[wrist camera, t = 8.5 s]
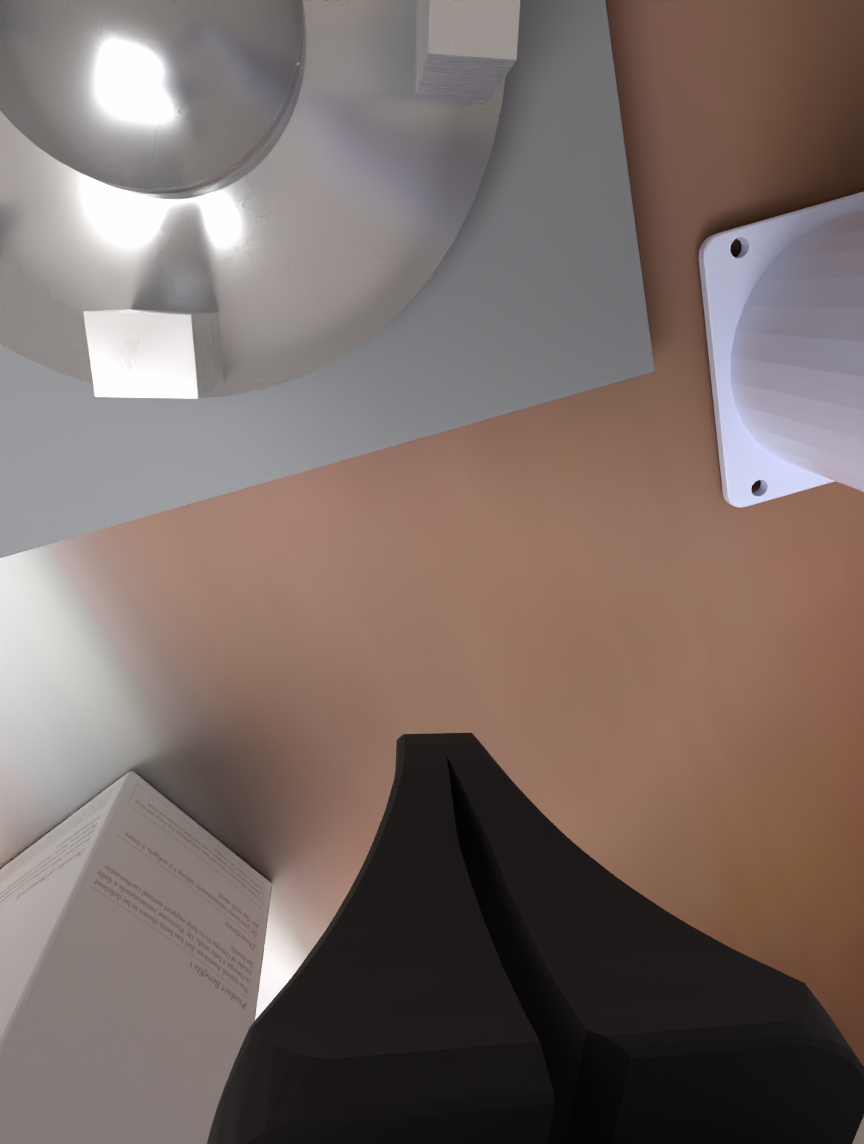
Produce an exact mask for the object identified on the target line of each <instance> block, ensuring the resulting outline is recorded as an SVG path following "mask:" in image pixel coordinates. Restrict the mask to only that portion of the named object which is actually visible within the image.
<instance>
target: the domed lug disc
mask: <svg viewBox="0 0 864 1144" xmlns="http://www.w3.org/2000/svg"><path fill="white" fill-rule="evenodd" d="M519 14H520V0H0V344H1V345H3V346H5V347H6V348H8V349H10V350H11V351H13V352H15V353H17V354H19V355H21V356H24V357H26V358H28V359H30V360H32V361H34V362H36V363H38V364H41V365H43V366H45V367H47V368H49V369H51V370H53V371H55V372H58V373H61V374H64V375H67V376H70V377H73V378H76V379H79V380H82V381H85V382H88V383H91V384H93V385H94V393H95V397H130V398H182V399H199V398H207V397H225V396H231V395H236V394H242V393H248V392H253V391H259V390H264V389H267V388H270V387H273V386H276V385H279V384H282V383H285V382H289V381H292V380H295V379H298V378H301V377H303V376H305V375H307V374H309V373H311V372H314V371H316V370H318V369H320V368H322V367H324V366H326V365H328V364H330V363H332V362H334V361H336V360H338V359H340V358H341V357H343V356H344V355H346V354H347V353H349V352H350V351H351V350H353V349H354V348H356V347H357V346H359V345H360V344H362V343H363V342H365V341H366V340H368V339H369V338H371V337H372V336H373V335H374V334H376V333H377V332H378V331H379V330H380V329H381V328H382V327H383V326H385V325H386V324H387V323H388V322H389V321H390V320H391V319H392V318H393V317H395V316H396V315H397V314H398V313H399V312H400V311H401V310H402V309H403V308H404V307H405V306H406V305H407V304H408V303H409V301H410V300H411V299H412V298H413V297H414V296H415V294H416V293H417V292H418V291H419V290H420V289H421V287H422V286H423V285H424V284H425V283H426V282H427V280H428V279H429V278H430V277H431V275H432V274H433V272H434V271H435V269H436V268H437V266H438V265H439V263H440V262H441V260H442V259H443V257H444V256H445V254H446V253H447V251H448V249H449V248H450V246H451V245H452V243H453V242H454V240H455V238H456V236H457V234H458V232H459V230H460V228H461V226H462V224H463V222H464V220H465V218H466V216H467V214H468V212H469V210H470V208H471V206H472V204H473V202H474V200H475V197H476V195H477V192H478V189H479V186H480V183H481V180H482V178H483V175H484V172H485V169H486V166H487V163H488V160H489V158H490V155H491V151H492V147H493V143H494V138H495V134H496V129H497V125H498V121H499V116H500V112H501V107H502V103H503V94H504V85H505V76H506V75H507V73H508V72H509V70H510V69H511V67H512V66H513V64H514V63H515V61H516V60H517V45H518V29H519Z"/></svg>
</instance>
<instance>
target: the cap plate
mask: <svg viewBox="0 0 864 1144" xmlns="http://www.w3.org/2000/svg"><path fill="white" fill-rule="evenodd" d="M651 372H655V369H654V361H653V354H652V346H651V339H650V331H649V324H648V316H647V309H646V301H645V294H644V286H643V279H642V271H641V264H640V257H639V249H638V242H637V234H636V227H635V219H634V212H633V204H632V197H631V189H630V182H629V174H628V167H627V159H626V152H625V144H624V137H623V129H622V122H621V114H620V107H619V99H618V92H617V84H616V77H615V69H614V62H613V54H612V47H611V39H610V32H609V24H608V17H607V10H606V2H605V0H520V14H519V29H518V45H517V60H516V61H515V63H514V64H513V66H512V67H511V69H510V70H509V72H508V73H507V75H506V76H505V85H504V94H503V103H502V107H501V112H500V116H499V121H498V125H497V129H496V134H495V138H494V143H493V147H492V151H491V155H490V158H489V160H488V163H487V166H486V169H485V172H484V175H483V178H482V180H481V183H480V186H479V189H478V192H477V195H476V197H475V200H474V202H473V204H472V206H471V208H470V210H469V212H468V214H467V216H466V218H465V220H464V222H463V224H462V226H461V228H460V230H459V232H458V234H457V236H456V238H455V240H454V242H453V243H452V245H451V246H450V248H449V249H448V251H447V253H446V254H445V256H444V257H443V259H442V260H441V262H440V263H439V265H438V266H437V268H436V269H435V271H434V272H433V274H432V275H431V277H430V278H429V279H428V280H427V282H426V283H425V284H424V285H423V286H422V287H421V289H420V290H419V291H418V292H417V293H416V294H415V296H414V297H413V298H412V299H411V300H410V301H409V303H408V304H407V305H406V306H405V307H404V308H403V309H402V310H401V311H400V312H399V313H398V314H397V315H396V316H395V317H393V318H392V319H391V320H390V321H389V322H388V323H387V324H386V325H385V326H383V327H382V328H381V329H380V330H379V331H378V332H377V333H376V334H374V335H373V336H372V337H371V338H369V339H368V340H366V341H365V342H363V343H362V344H360V345H359V346H357V347H356V348H354V349H353V350H351V351H350V352H349V353H347V354H346V355H344V356H343V357H341V358H340V359H338V360H336V361H334V362H332V363H330V364H328V365H326V366H324V367H322V368H320V369H318V370H316V371H314V372H311V373H309V374H307V375H305V376H303V377H301V378H298V379H295V380H292V381H289V382H285V383H282V384H279V385H276V386H273V387H270V388H267V389H264V390H259V391H253V392H248V393H242V394H236V395H231V396H225V397H207V398H199V399H182V398H130V397H95V393H94V385H93V384H91V383H88V382H85V381H82V380H79V379H76V378H73V377H70V376H67V375H64V374H61V373H58V372H55V371H53V370H51V369H49V368H47V367H45V366H43V365H41V364H38V363H36V362H34V361H32V360H30V359H28V358H26V357H24V356H21V355H19V354H17V353H15V352H13V351H11V350H10V349H8V348H6V347H5V346H3V345H1V344H0V558H2V557H5V556H9V555H12V554H16V553H19V552H23V551H26V550H30V549H33V548H37V547H40V546H44V545H47V544H51V543H54V542H58V541H61V540H65V539H68V538H72V537H75V536H79V535H82V534H86V533H89V532H93V531H97V530H100V529H104V528H107V527H111V526H114V525H118V524H121V523H125V522H128V521H132V520H135V519H139V518H142V517H146V516H149V515H153V514H156V513H160V512H163V511H167V510H170V509H174V508H177V507H181V506H184V505H188V504H191V503H195V502H198V501H202V500H205V499H209V498H212V497H216V496H219V495H223V494H226V493H230V492H233V491H237V490H241V489H244V488H248V487H251V486H255V485H258V484H262V483H265V482H269V481H272V480H276V479H279V478H283V477H286V476H290V475H293V474H297V473H300V472H304V471H307V470H311V469H314V468H318V467H321V466H325V465H328V464H332V463H335V462H339V461H342V460H346V459H349V458H353V457H356V456H360V455H363V454H367V453H370V452H374V451H378V450H381V449H385V448H388V447H392V446H395V445H399V444H402V443H406V442H409V441H413V440H416V439H420V438H423V437H427V436H430V435H434V434H437V433H441V432H444V431H448V430H451V429H455V428H458V427H462V426H465V425H469V424H472V423H476V422H479V421H483V420H486V419H490V418H493V417H497V416H500V415H504V414H507V413H511V412H514V411H518V410H522V409H525V408H529V407H532V406H536V405H539V404H543V403H546V402H550V401H553V400H557V399H560V398H564V397H567V396H571V395H574V394H578V393H581V392H585V391H588V390H592V389H595V388H599V387H602V386H606V385H609V384H613V383H616V382H620V381H623V380H627V379H630V378H634V377H637V376H641V375H644V374H648V373H651Z"/></svg>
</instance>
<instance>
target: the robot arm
mask: <svg viewBox="0 0 864 1144" xmlns="http://www.w3.org/2000/svg"><path fill="white" fill-rule="evenodd" d="M736 238H737V239H738V240H739V241H740V242H741V245H742V248H741V252H740V254H739V255H738V256H737V257H736V258H735V257H734V256H732V254H731V251H730V248H731V244H732V242H733V241H734V240H735V239H736ZM699 267H700V277H701V286H702V296H703V306H704V315H705V325H706V335H707V344H708V354H709V364H710V373H711V383H712V393H713V402H714V412H715V422H716V431H717V441H718V451H719V460H720V470H721V479H722V489H723V496H724V499H725V500H726V501H727V502H728V503H729V504H731V505H733V506H735V507H738V508H739V507H746V506H750V505H753V504H757V503H760V502H764V501H767V500H771V499H774V498H778V497H782V496H785V495H789V494H792V493H796V492H799V491H803V490H806V489H810V488H813V487H817V486H820V485H824V484H827V483H831V482H834V481H836V482H839V483H842V484H844V485H847V486H850V487H852V488H855V489H858V490H860V491H863V492H864V192H860V193H856V194H853V195H849V196H846V197H842V198H839V199H835V200H832V201H828V202H825V203H821V204H818V205H814V206H811V207H807V208H804V209H800V210H797V211H793V212H790V213H786V214H783V215H779V216H776V217H772V218H769V219H765V220H762V221H758V222H755V223H751V224H748V225H744V226H741V227H737V228H734V229H730V230H727V231H723V232H720V233H716V234H713V235H711V236H709V237H708V238H707V239H706V240H705V241H704V242H703V243H702V245H701V248H700V250H699ZM758 480H760V481H761V485H760V488H759V489H758V491H756V492H754V493H752V491H751V489H752V485H753V484H754V483H755V482H756V481H758ZM863 1114H864V1067H863V1065H862V1064H861V1062H860V1061H859V1059H858V1058H857V1057H856V1055H855V1054H854V1052H853V1051H852V1049H851V1048H850V1046H849V1044H848V1043H847V1041H846V1040H845V1038H844V1037H843V1035H842V1034H841V1032H840V1031H839V1029H838V1028H837V1026H836V1025H835V1023H834V1022H833V1020H832V1019H831V1017H830V1016H829V1014H828V1013H827V1012H826V1010H825V1009H824V1008H823V1006H822V1005H821V1004H820V1003H819V1001H818V1000H817V999H816V997H815V996H814V995H813V993H812V992H811V991H810V990H809V988H808V987H807V986H806V984H805V983H803V982H801V981H799V980H797V979H794V978H792V977H790V976H788V975H786V974H784V973H782V972H780V971H778V970H776V969H773V968H771V967H769V966H767V965H765V964H763V963H761V962H759V961H757V960H754V959H752V958H750V957H748V956H746V955H744V954H742V953H740V952H738V951H736V950H734V949H732V948H730V947H728V946H726V945H724V944H722V943H721V942H719V941H717V940H715V939H713V938H712V937H710V936H708V935H706V934H704V933H703V932H701V931H699V930H697V929H695V928H694V927H692V926H690V925H688V924H687V923H685V922H683V921H682V920H680V919H678V918H677V917H675V916H673V915H672V914H670V913H669V912H667V911H665V910H664V909H662V908H661V907H659V906H658V905H656V904H655V903H653V902H652V901H650V900H649V899H647V898H646V897H644V896H643V895H641V894H640V893H638V892H637V891H635V890H634V889H632V888H631V887H629V886H628V885H627V884H625V883H624V882H622V881H621V880H620V879H618V878H617V877H615V876H614V875H613V874H611V873H610V872H609V871H608V870H606V869H605V868H604V867H603V866H601V865H600V864H599V863H598V862H596V861H595V860H594V859H593V858H591V857H590V856H589V855H587V854H586V853H585V852H584V851H582V850H581V849H580V848H579V847H578V846H577V845H575V844H574V843H573V842H572V841H571V840H570V839H569V838H567V837H566V836H565V835H564V834H563V833H562V832H561V831H560V830H559V829H558V828H557V827H556V826H555V825H554V824H553V823H552V822H551V821H550V820H549V819H548V818H547V817H546V816H545V815H544V814H543V813H542V812H541V811H540V810H539V809H538V808H537V807H536V806H535V805H534V804H533V803H532V802H531V801H530V800H529V799H528V798H527V797H526V795H525V794H524V793H523V792H522V791H521V790H520V789H519V788H518V787H517V786H516V785H515V784H514V782H513V781H512V780H511V779H510V778H509V777H508V776H507V774H506V773H505V772H504V771H503V770H502V768H501V767H500V766H499V765H498V764H497V763H496V761H495V760H494V759H493V758H492V757H491V755H490V754H489V753H488V752H487V750H486V749H485V748H484V747H483V745H482V744H481V743H480V742H479V741H478V739H477V738H476V737H475V736H474V735H473V734H472V733H442V734H403V735H402V736H401V737H400V738H399V739H398V740H397V746H396V770H395V778H394V782H393V786H392V789H391V793H390V796H389V800H388V803H387V807H386V810H385V813H384V816H383V818H382V821H381V823H380V826H379V829H378V831H377V834H376V836H375V839H374V841H373V844H372V846H371V849H370V851H369V853H368V855H367V857H366V860H365V862H364V864H363V866H362V868H361V870H360V872H359V874H358V876H357V878H356V880H355V882H354V884H353V885H352V887H351V889H350V891H349V893H348V894H347V896H346V898H345V899H344V901H343V903H342V905H341V906H340V908H339V910H338V912H337V913H336V915H335V917H334V918H333V920H332V921H331V923H330V925H329V926H328V928H327V929H326V931H325V932H324V934H323V935H322V936H321V938H320V939H319V941H318V942H317V943H316V945H315V946H314V948H313V949H312V950H311V952H310V953H309V955H308V956H307V958H306V959H305V960H304V962H303V963H302V965H301V966H300V967H299V969H298V970H297V971H296V973H295V974H294V975H293V977H292V978H291V979H290V980H289V982H288V983H287V984H286V985H285V986H284V988H283V989H282V990H281V991H280V992H279V993H278V995H277V996H276V997H275V998H274V999H273V1000H272V1002H271V1003H270V1004H269V1005H268V1006H267V1008H266V1009H265V1010H264V1011H263V1012H262V1013H261V1015H260V1016H259V1017H258V1018H257V1019H256V1020H255V1022H254V1023H253V1024H252V1025H251V1026H250V1028H249V1030H248V1032H247V1034H246V1037H245V1039H244V1041H243V1043H242V1046H241V1048H240V1050H239V1053H238V1055H237V1057H236V1060H235V1062H234V1064H233V1067H232V1069H231V1072H230V1074H229V1077H228V1079H227V1082H226V1084H225V1087H224V1089H223V1092H222V1095H221V1098H220V1101H219V1104H218V1106H217V1109H216V1112H215V1116H214V1119H213V1122H212V1126H211V1129H210V1133H209V1137H208V1141H207V1144H852V1143H853V1140H854V1137H855V1135H856V1132H857V1130H858V1128H859V1125H860V1123H861V1120H862V1118H863Z"/></svg>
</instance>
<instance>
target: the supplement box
mask: <svg viewBox="0 0 864 1144" xmlns="http://www.w3.org/2000/svg"><path fill="white" fill-rule="evenodd" d="M271 889H272V884H271V882H269V881H268V880H267V879H266V878H264V877H263V876H262V875H261V874H259V873H258V872H257V871H255V870H254V869H253V868H252V867H251V866H249V865H248V864H247V863H246V862H244V861H243V860H242V859H241V858H239V857H238V856H237V855H236V854H234V853H233V852H232V851H231V850H229V849H228V848H227V847H226V846H224V845H223V844H222V843H221V842H219V841H218V840H217V839H216V838H215V837H213V836H212V835H211V834H210V833H208V832H207V831H206V830H205V829H203V828H202V827H201V826H200V825H198V824H197V823H196V822H195V821H193V820H192V819H191V818H190V817H188V816H187V815H186V814H185V813H184V812H182V811H181V810H180V809H179V808H177V807H176V806H175V805H174V804H173V803H171V802H170V801H169V800H168V799H166V798H165V797H164V796H163V795H161V794H160V793H159V792H158V791H157V790H155V789H154V788H153V787H152V786H150V785H149V784H148V783H147V782H145V781H144V780H143V779H142V778H141V777H140V776H138V775H137V774H136V773H134V772H133V771H129V772H128V773H126V774H125V775H124V776H122V777H121V778H120V779H118V780H117V781H116V782H114V783H113V784H112V785H110V786H109V787H108V788H106V789H105V790H104V791H102V792H101V793H100V794H98V795H97V796H96V797H94V798H93V799H92V800H91V801H89V802H88V803H87V804H85V805H84V806H83V807H81V808H80V809H78V810H77V811H76V812H74V813H73V814H72V815H71V816H69V817H68V818H67V819H66V820H64V821H63V822H62V823H60V824H59V825H58V826H56V827H55V828H53V829H52V830H51V831H50V832H48V833H47V834H46V835H44V836H43V837H42V838H40V839H39V840H38V841H37V842H35V843H34V844H33V845H31V846H30V847H29V848H27V849H26V850H25V851H23V852H22V853H21V854H20V855H18V856H17V857H16V858H15V859H13V860H12V861H10V862H9V863H8V864H6V865H5V866H4V867H3V868H1V869H0V1144H207V1141H208V1137H209V1133H210V1129H211V1126H212V1122H213V1119H214V1116H215V1112H216V1109H217V1106H218V1104H219V1101H220V1098H221V1095H222V1092H223V1089H224V1087H225V1084H226V1082H227V1079H228V1077H229V1074H230V1072H231V1069H232V1067H233V1064H234V1062H235V1060H236V1057H237V1055H238V1053H239V1050H240V1048H241V1046H242V1043H243V1041H244V1039H245V1037H246V1034H247V1032H248V1030H249V1028H250V1026H251V1025H252V1024H253V1023H254V1022H255V1015H256V1005H257V998H258V991H259V982H260V976H261V967H262V960H263V953H264V944H265V936H266V928H267V921H268V913H269V905H270V897H271Z"/></svg>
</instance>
